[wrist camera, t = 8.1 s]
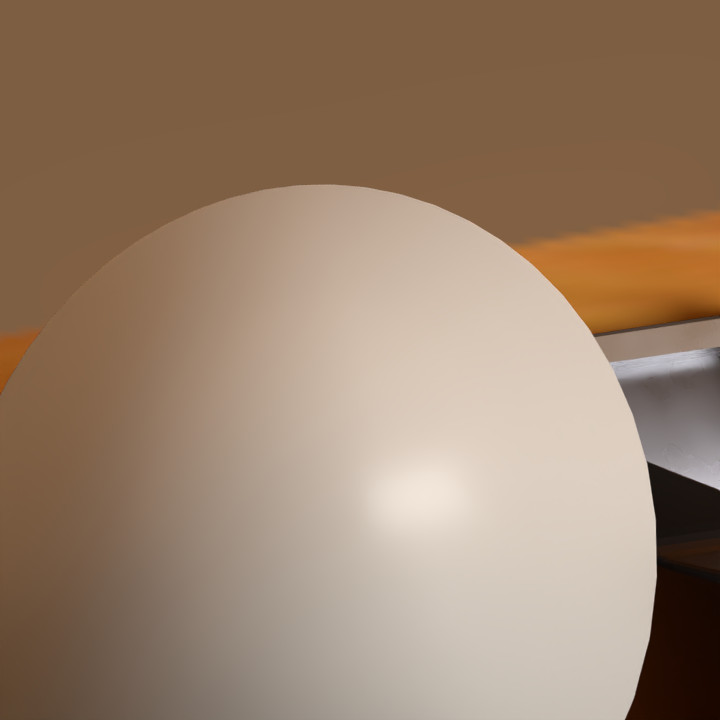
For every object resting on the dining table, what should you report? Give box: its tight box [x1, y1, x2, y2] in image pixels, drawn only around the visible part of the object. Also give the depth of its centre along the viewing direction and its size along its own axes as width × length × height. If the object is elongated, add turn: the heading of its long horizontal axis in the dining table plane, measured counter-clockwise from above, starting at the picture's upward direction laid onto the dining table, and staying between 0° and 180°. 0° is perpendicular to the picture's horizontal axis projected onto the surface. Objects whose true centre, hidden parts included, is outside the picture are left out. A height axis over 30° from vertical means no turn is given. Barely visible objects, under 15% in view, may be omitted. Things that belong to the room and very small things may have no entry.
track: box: [592, 315, 720, 490], centre depth 13 cm, size 21×9×4 cm, turn 97°
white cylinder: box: [0, 185, 657, 720], centre depth 8 cm, size 5×5×12 cm
